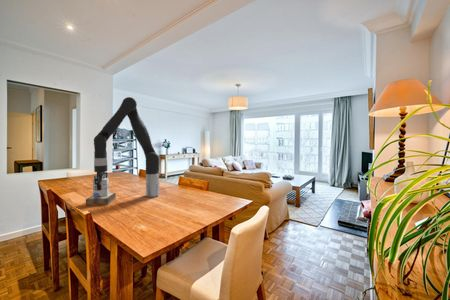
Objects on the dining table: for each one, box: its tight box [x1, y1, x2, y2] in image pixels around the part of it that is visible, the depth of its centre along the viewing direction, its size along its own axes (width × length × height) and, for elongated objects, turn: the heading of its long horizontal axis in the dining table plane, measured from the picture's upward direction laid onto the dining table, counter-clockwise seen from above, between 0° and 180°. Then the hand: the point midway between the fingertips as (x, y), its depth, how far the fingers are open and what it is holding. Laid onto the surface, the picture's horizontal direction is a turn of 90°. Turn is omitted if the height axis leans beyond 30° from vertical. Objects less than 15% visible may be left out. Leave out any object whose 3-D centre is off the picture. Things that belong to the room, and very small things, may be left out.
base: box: [85, 192, 117, 206], centre depth 130 cm, size 13×13×4 cm
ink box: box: [92, 177, 110, 197], centre depth 129 cm, size 9×5×12 cm, turn 109°
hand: (101, 188), depth 129 cm, fingers open, 6 cm apart
